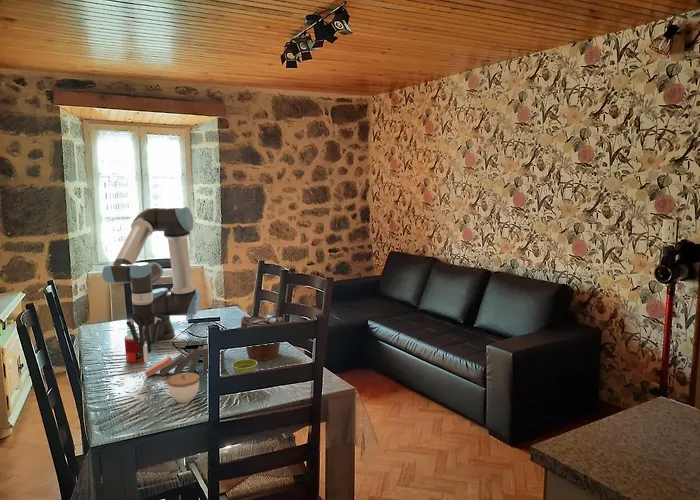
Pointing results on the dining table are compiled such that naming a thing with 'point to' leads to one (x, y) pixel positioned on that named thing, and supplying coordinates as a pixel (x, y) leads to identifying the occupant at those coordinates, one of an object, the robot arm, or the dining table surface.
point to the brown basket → (263, 350)
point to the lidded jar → (183, 386)
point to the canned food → (133, 350)
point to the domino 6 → (222, 361)
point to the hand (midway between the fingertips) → (146, 360)
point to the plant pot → (244, 365)
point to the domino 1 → (158, 366)
